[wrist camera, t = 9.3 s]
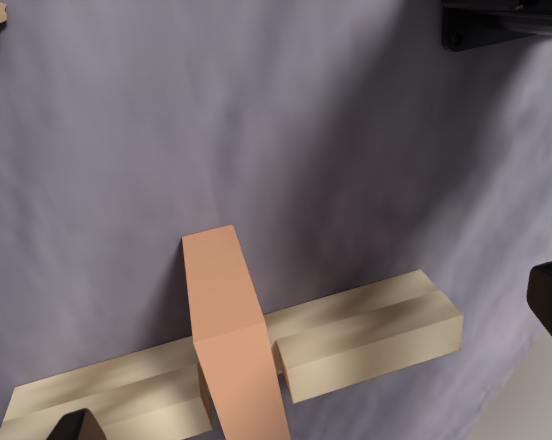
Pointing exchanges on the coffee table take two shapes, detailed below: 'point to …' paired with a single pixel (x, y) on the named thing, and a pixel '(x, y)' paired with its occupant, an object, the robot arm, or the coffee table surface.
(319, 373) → the birch board
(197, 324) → the notched tan block
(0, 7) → the clay tablet
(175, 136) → the coffee table surface
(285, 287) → the coffee table surface
